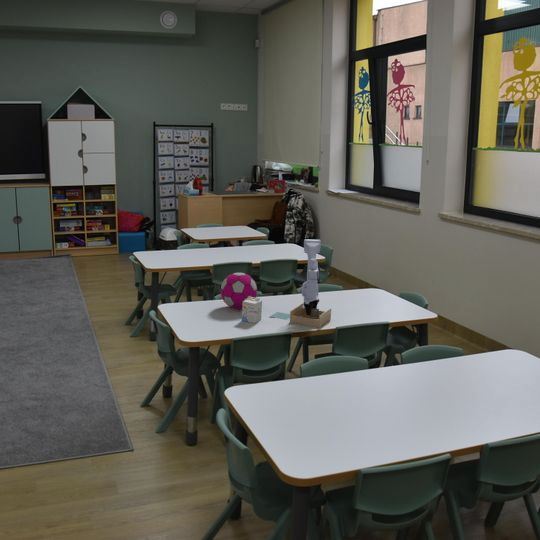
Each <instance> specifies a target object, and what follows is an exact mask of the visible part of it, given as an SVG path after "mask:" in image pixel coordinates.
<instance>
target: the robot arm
mask: <svg viewBox="0 0 540 540" xmlns="http://www.w3.org/2000/svg"><path fill="white" fill-rule="evenodd" d="M321 247H322V241H321V239H308V238H307V239H306V238H305V239H304V240H303V251H304V253H305V254H307V272H306V281H304V282H303V283H302V284H301V285H302V287H301V296H302V297H303V303H302V304H303V308H305V309H306V314H307V315H310V314H311V309H312V308H316V309H318V304H319V302H320V298H319V292H320V291H319V284H318V280H319V278H320V271H319V264H318V263H319V262H318V260H317V254H319V253H320V252H321V249H322V248H321Z"/></svg>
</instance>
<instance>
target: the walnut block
mask: <svg viewBox="0 0 540 540" xmlns="http://www.w3.org/2000/svg"><path fill="white" fill-rule="evenodd" d="M319 311H320V308H317V309H316V308H312V309H311V314H310V315H307V314H306V309H305V308H304V309H303V317H304V318H310V319H316V320H318V318H319Z"/></svg>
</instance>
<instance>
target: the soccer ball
mask: <svg viewBox="0 0 540 540" xmlns="http://www.w3.org/2000/svg"><path fill="white" fill-rule="evenodd" d="M257 293H258V286H257V283H256V281H255V280H254V279H253V278H252V277H251V276H250V275H249V274H246V273H244V272H234V273H231V274H229V275H228V276H226V277H225V278H224V280H223V281H222V283H221V286H220V296H221V298H222V299H221V300H222V301H223V302H224V303H225V304H226V305H227V306H228V307H230V308H232V309H234V310H235V309H237V310H242V308H243V301H245V300H247V298H248V296H250V297H255V298H257V295H258V294H257ZM252 299H254V298H252Z"/></svg>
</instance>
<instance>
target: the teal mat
mask: <svg viewBox="0 0 540 540" xmlns="http://www.w3.org/2000/svg"><path fill="white" fill-rule="evenodd" d="M269 318H272V319H275V318H276V319H281V320H286V321H287V320H290V313H284V312H279V311H277V312H275V313H273V314H272V315H270V316H269Z"/></svg>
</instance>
